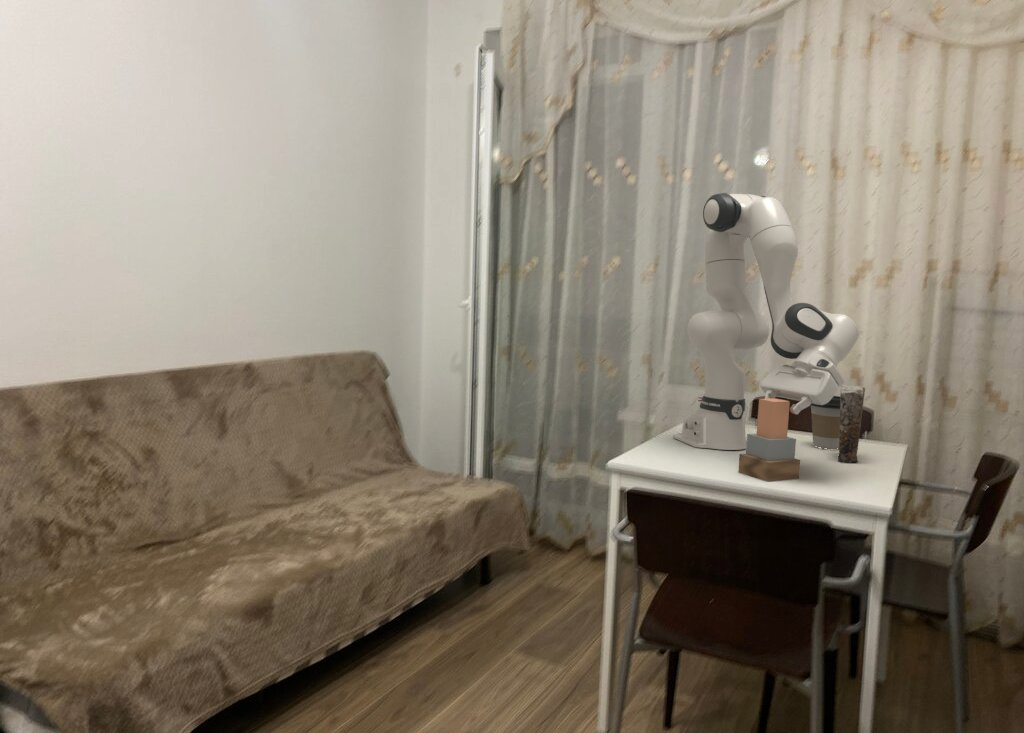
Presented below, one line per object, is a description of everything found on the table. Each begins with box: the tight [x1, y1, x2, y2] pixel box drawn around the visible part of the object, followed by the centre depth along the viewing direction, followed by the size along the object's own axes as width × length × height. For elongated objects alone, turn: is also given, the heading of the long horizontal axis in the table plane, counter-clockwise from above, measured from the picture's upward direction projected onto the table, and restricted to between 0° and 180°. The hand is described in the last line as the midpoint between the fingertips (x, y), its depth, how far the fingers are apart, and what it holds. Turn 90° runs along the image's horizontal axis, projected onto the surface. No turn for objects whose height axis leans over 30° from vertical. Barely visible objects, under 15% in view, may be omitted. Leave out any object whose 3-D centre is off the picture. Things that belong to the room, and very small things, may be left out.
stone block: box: [837, 384, 866, 463], centre depth 217 cm, size 13×7×20 cm, turn 162°
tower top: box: [745, 433, 797, 461], centre depth 193 cm, size 8×8×5 cm
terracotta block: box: [756, 397, 791, 439], centre depth 192 cm, size 5×5×9 cm
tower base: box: [737, 453, 801, 483], centre depth 193 cm, size 10×10×5 cm
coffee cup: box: [810, 395, 840, 449], centre depth 233 cm, size 11×11×15 cm
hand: (778, 409), depth 192 cm, fingers open, 8 cm apart
